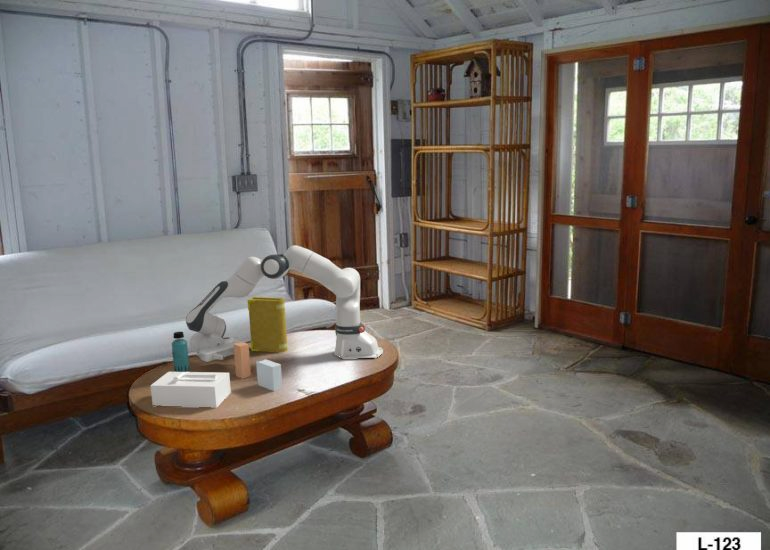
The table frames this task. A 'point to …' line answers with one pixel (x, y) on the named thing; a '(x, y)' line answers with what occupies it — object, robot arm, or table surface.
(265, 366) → the pale gray chunky brick
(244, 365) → the block
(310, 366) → the table surface
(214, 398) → the tissue box
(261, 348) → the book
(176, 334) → the beverage bottle
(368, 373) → the table surface
